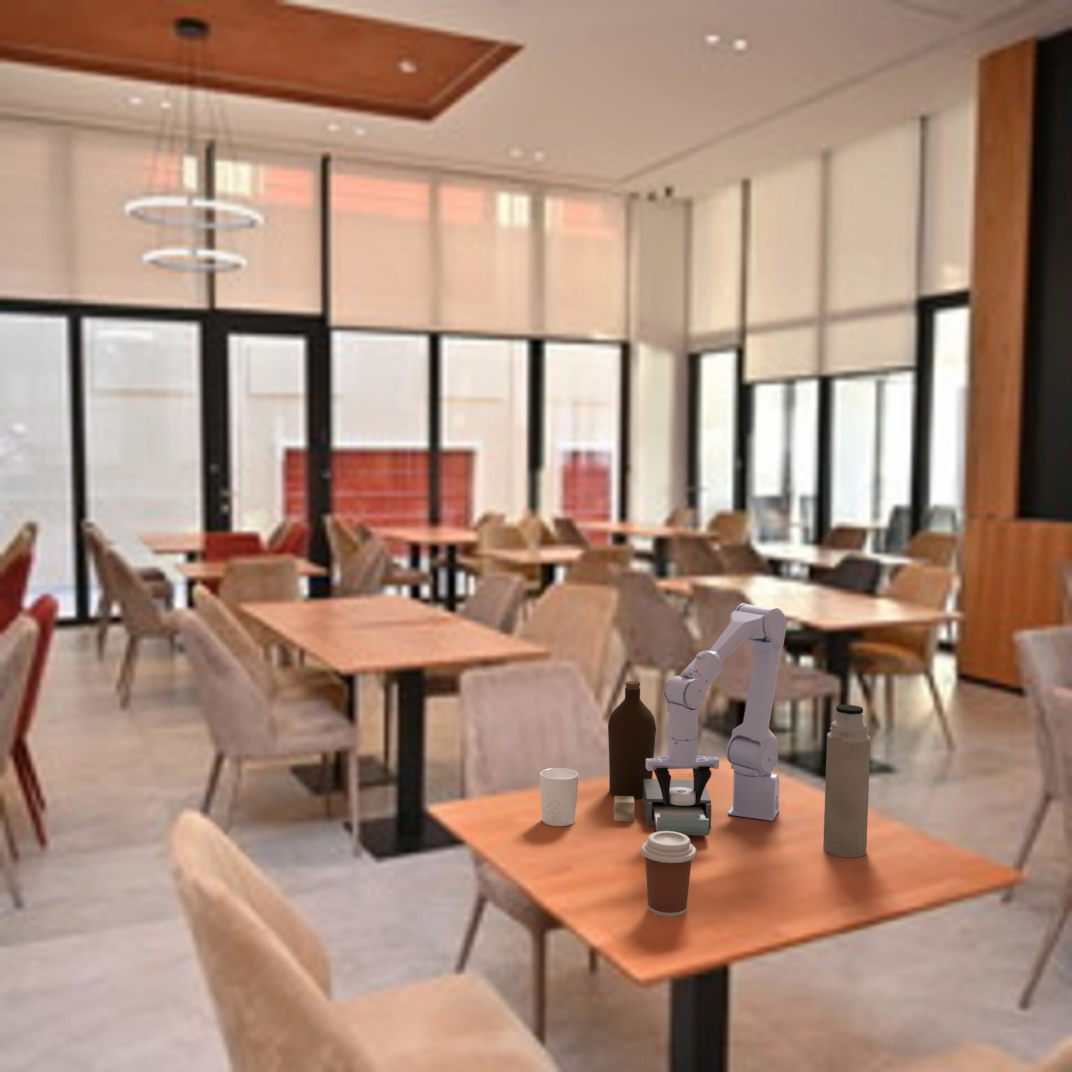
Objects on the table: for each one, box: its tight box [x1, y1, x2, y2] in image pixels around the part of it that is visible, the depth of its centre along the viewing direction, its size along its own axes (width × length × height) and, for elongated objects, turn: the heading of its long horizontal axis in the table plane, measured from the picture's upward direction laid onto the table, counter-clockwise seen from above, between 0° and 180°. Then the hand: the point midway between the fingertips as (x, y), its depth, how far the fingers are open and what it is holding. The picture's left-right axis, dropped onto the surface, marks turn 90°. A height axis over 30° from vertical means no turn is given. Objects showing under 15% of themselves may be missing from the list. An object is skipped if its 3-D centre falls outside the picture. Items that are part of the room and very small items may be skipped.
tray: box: [653, 806, 710, 836], centre depth 214 cm, size 10×12×3 cm
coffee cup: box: [640, 831, 697, 918], centre depth 177 cm, size 9×9×12 cm
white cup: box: [539, 767, 579, 827], centre depth 219 cm, size 8×8×10 cm
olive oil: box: [607, 680, 657, 800], centre depth 237 cm, size 11×11×25 cm
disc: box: [669, 787, 696, 806], centre depth 212 cm, size 6×6×2 cm
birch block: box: [613, 795, 635, 823], centre depth 221 cm, size 4×4×4 cm
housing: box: [642, 778, 712, 828], centre depth 224 cm, size 13×14×5 cm
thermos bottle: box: [822, 704, 872, 858], centre depth 204 cm, size 8×8×28 cm
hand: (681, 804), depth 212 cm, fingers closed on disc, 6 cm apart
